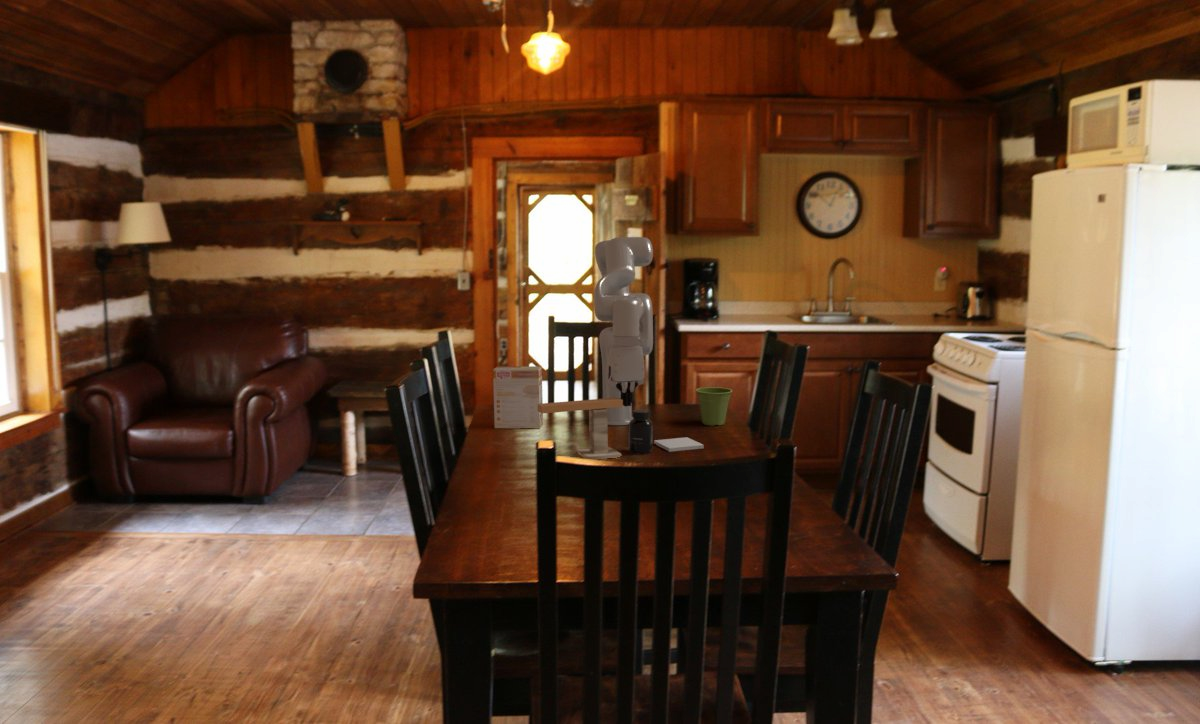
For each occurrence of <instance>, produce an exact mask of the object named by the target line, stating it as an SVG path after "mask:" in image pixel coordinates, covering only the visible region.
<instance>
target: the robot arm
mask: <svg viewBox="0 0 1200 724" xmlns="http://www.w3.org/2000/svg"><path fill="white" fill-rule="evenodd" d="M594 255H595V256H594V257H595V262H596V264H597V267H598V270H599V272H600V275H601V278H599V280H598V281H597V283H596V285H595V287H594V291H593V307H594V308H593V309H594V315H595V317H596V319H597V320H598V321H600V322H609V323H612V326H610V327H605V328H603V329H602V330H601V331H600V333H599V336H598V338H599V339H598V340H599V347H600V348H599V349H600V352H601V353H600V354H601V365H602V367H601V368H602V371H601V372H602V373H601V375H602V399H606V398H620V399H622V400H623V407H615V408H606V409H607V425H608V426H629V422H630V421H631V420H632V419H633V417H632V415H633V410H632V409H633V407H632V405H633V404H632V403H633V393H634V392H635V389H636V388H637V387H638V386H640V385H643V384H645V379H644V378H645V371H646V370H645V360H644V357H645V356H647V355H650V354H651V353H652V351H653V348H654V347H653V346H654V324H653V323H654V319H653V317H654V316H653V315H654V314H653V313H654V311H653V303H652V302H653V301H652V299H651V297H650V295H649V294H647V293H645V292H644V293H643V292H630V285H631V284H632V283H633V282H634V280H635V278H636V267H639V268H640V267H641V268H642V267H646V266H649V265H650V264H651V263H652V261H653V256H654V250H653V243H652V242H651V240H650V239H649V238H648V237H645V236H627V237H626V236H620V237H615V238H612V239H608V240H602V241H599V242H598V243H597V244H596V245H595V248H594Z"/></svg>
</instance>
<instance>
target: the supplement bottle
mask: <svg viewBox="0 0 1200 724" xmlns="http://www.w3.org/2000/svg"><path fill="white" fill-rule="evenodd" d="M632 417H633V419H632V420H631V421H630V422H629V425H628V451H629V453H631V452H633V453H632V454H635V453H647V454H650V453H652V451H653V432H654V431H653V429H654V426H653V422H652V420H650V419H649V418H650V410H648V409H634V410H632ZM649 452H650V453H649Z"/></svg>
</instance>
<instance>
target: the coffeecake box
mask: <svg viewBox="0 0 1200 724" xmlns="http://www.w3.org/2000/svg"><path fill="white" fill-rule="evenodd" d="M542 367H543V366H540V365H538V366H533V365H532V366H531V365H530V366H529V365H527V366H520V365H519V366H517V365H516V366H498V365H497V366H496V367H495V368H493V370H492V378H493V379H492V381H493V384H492V385H493V413H494V414H493V415H494V416H493V419H494V420H493V421H494V429H520V428H534V429H535V430H536V429H537V430H538V429H539V430H540V429H541V428H542V426H543V425H544V413H540V412H539V411H538V404H542V403H543V368H542ZM534 429H533V430H534Z"/></svg>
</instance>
